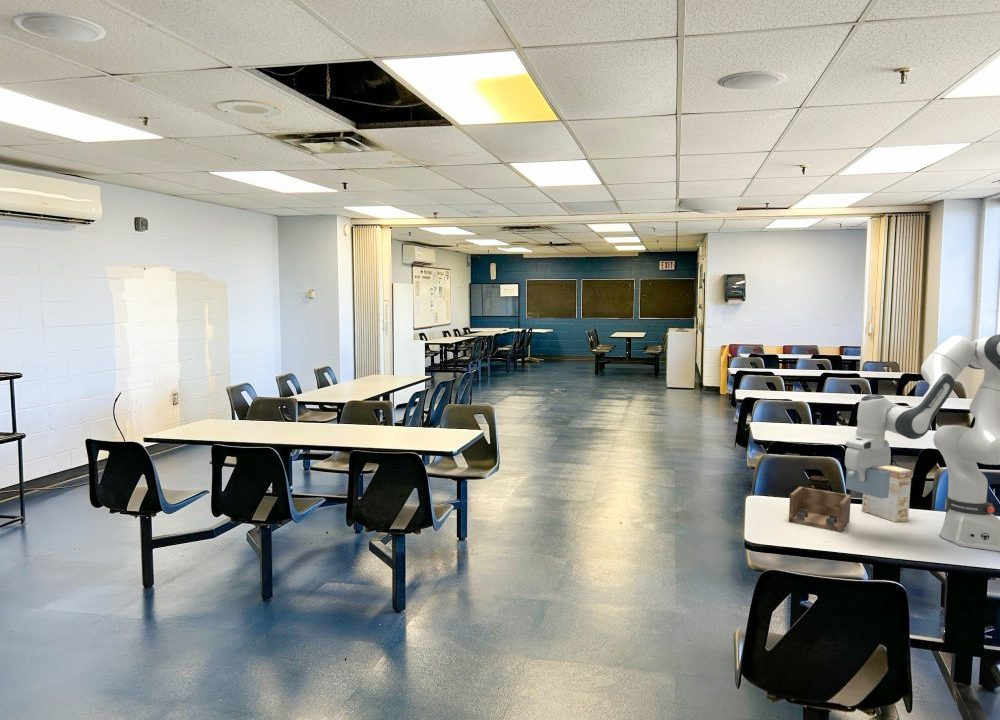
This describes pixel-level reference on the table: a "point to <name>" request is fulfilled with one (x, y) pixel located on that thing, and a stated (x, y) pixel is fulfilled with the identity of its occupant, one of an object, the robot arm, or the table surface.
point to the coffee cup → (819, 483)
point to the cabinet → (819, 508)
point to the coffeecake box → (891, 496)
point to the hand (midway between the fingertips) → (867, 480)
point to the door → (869, 482)
